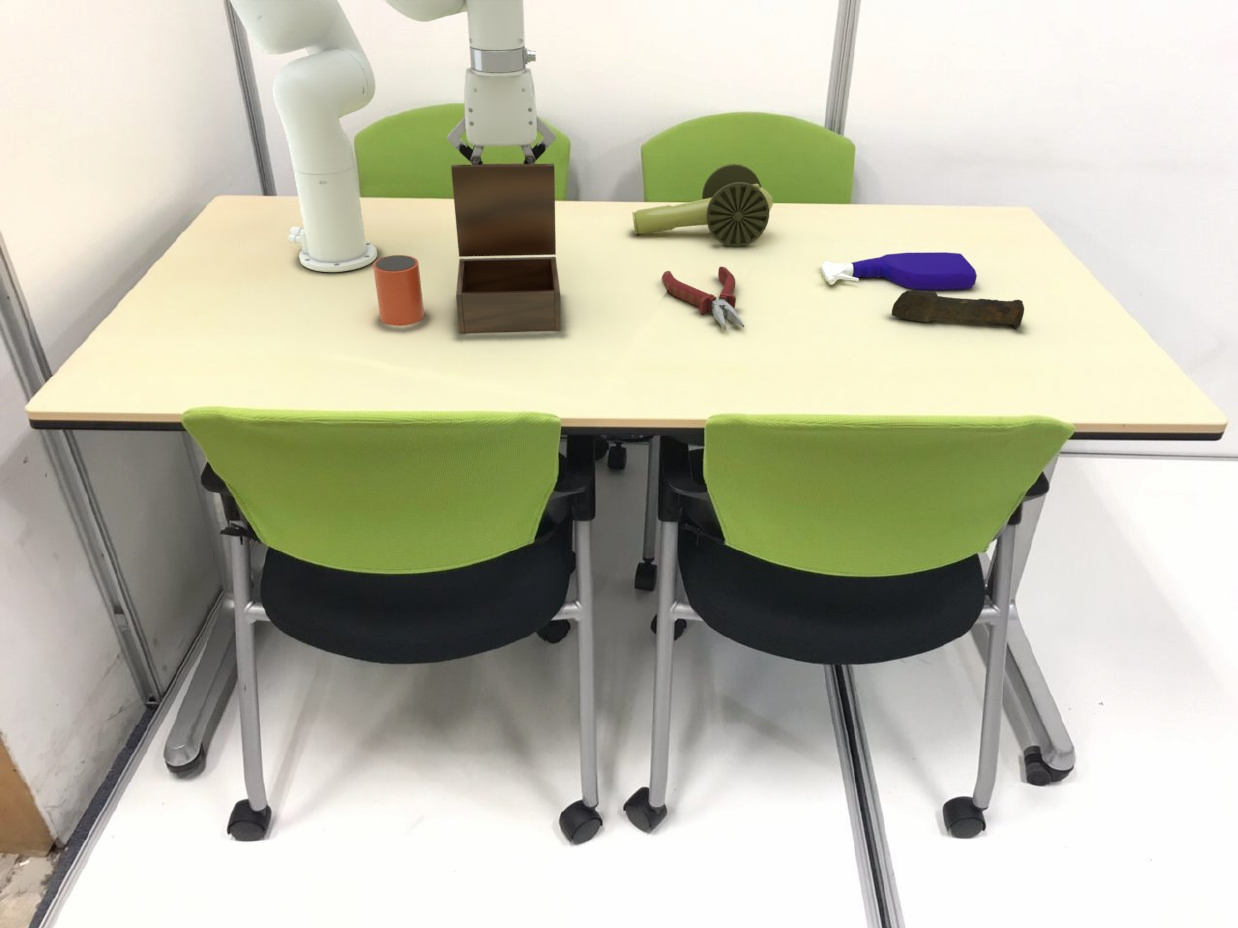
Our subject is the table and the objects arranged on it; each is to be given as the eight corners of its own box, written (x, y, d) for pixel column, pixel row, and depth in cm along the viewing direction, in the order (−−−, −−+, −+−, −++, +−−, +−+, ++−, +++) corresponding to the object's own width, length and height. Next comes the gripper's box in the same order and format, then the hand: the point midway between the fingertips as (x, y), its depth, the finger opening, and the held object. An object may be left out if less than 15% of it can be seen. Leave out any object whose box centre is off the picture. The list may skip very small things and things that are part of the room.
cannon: (632, 246, 164) (633, 182, 158) (631, 222, 174) (633, 161, 167) (773, 248, 164) (780, 185, 158) (764, 225, 174) (771, 164, 168)
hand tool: (1014, 320, 143) (1022, 292, 140) (1020, 331, 139) (1028, 303, 137) (889, 310, 145) (894, 283, 142) (891, 322, 141) (897, 293, 139)
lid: (554, 165, 133) (552, 152, 137) (451, 167, 131) (452, 153, 135) (555, 255, 141) (554, 240, 145) (459, 257, 140) (460, 241, 144)
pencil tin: (372, 326, 136) (364, 268, 131) (394, 308, 141) (387, 252, 136) (411, 333, 135) (404, 274, 130) (432, 315, 140) (426, 258, 135)
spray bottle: (960, 249, 158) (816, 251, 157) (983, 275, 149) (831, 277, 148) (956, 266, 160) (814, 267, 159) (978, 292, 151) (828, 294, 150)
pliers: (697, 338, 135) (698, 322, 134) (659, 283, 151) (659, 268, 150) (770, 331, 138) (772, 315, 136) (725, 278, 154) (727, 263, 152)
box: (560, 335, 135) (560, 292, 131) (459, 338, 134) (455, 294, 130) (556, 297, 146) (555, 256, 142) (462, 299, 144) (459, 258, 141)
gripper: (559, 54, 132) (561, 180, 142) (435, 54, 130) (446, 182, 140) (562, 66, 126) (564, 196, 136) (433, 66, 124) (444, 199, 134)
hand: (504, 188), depth 138 cm, fingers closed on lid, 6 cm apart
